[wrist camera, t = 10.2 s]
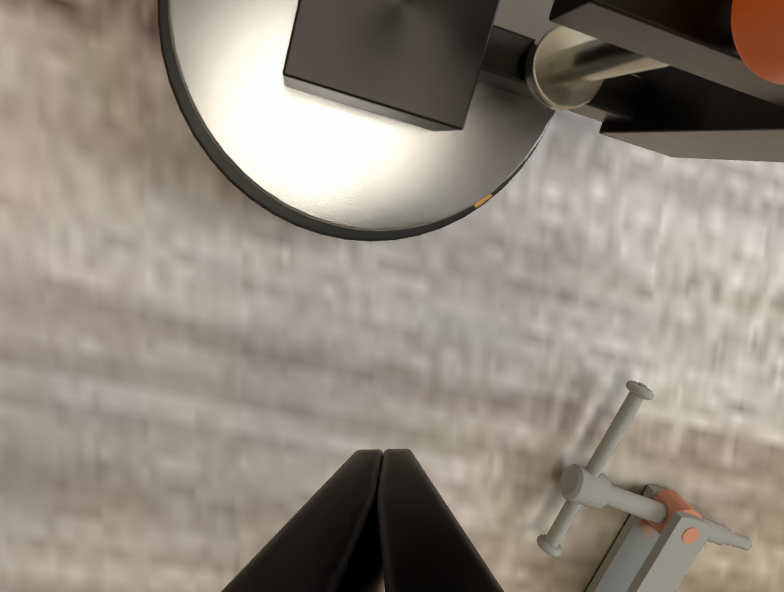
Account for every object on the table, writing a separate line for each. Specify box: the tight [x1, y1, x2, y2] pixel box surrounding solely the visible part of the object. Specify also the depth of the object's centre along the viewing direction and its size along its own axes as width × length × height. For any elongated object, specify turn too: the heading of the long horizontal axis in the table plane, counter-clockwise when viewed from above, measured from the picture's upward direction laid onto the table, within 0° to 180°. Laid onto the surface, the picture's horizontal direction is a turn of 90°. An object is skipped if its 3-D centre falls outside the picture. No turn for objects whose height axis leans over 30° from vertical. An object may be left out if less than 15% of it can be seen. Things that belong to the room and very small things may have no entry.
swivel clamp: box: [168, 0, 784, 231], centre depth 10 cm, size 10×14×10 cm
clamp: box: [537, 381, 752, 592], centre depth 23 cm, size 15×2×10 cm
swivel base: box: [158, 0, 540, 241], centre depth 16 cm, size 11×11×2 cm
